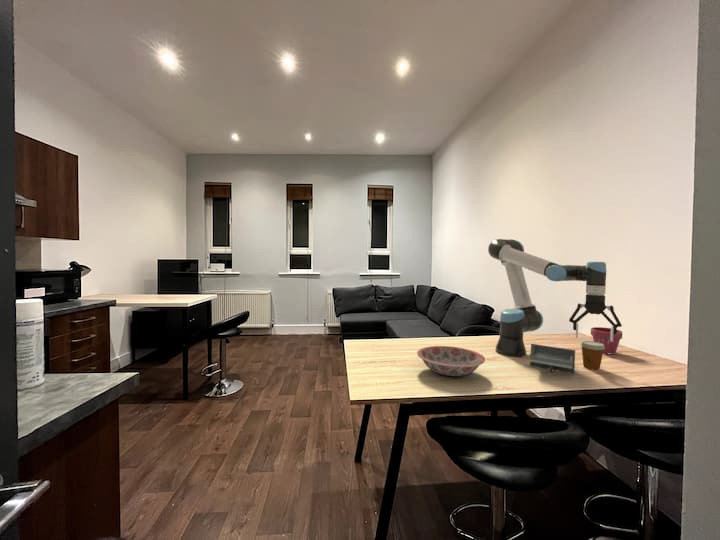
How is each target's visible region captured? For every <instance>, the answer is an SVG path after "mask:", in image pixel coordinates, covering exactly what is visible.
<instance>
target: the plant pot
mask: <svg viewBox="0 0 720 540" xmlns="http://www.w3.org/2000/svg"><path fill="white" fill-rule="evenodd" d="M590 335H591V336H592V339H593V342H598V343H602V344H604V347H605V349H604V351H603V353H615V354H617V353H616V352H617V351H618V350H617V349H618V347H619V344H620V340H622V339H623V331H622V330H619V329H617V332H616V334H613V342H611V340H610V339H611V327H610V328H609V327H600V326H599V327H597V326H595V327H594V326H593V327H590Z"/></svg>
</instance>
